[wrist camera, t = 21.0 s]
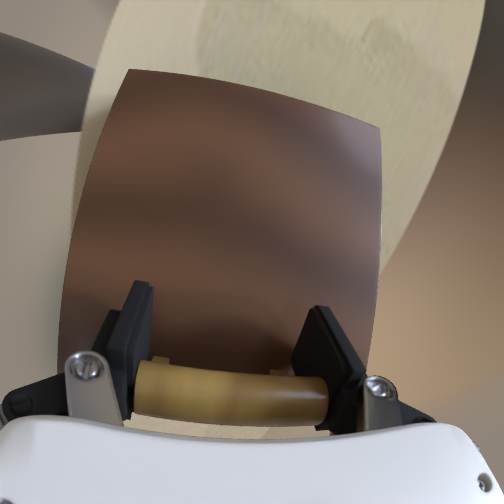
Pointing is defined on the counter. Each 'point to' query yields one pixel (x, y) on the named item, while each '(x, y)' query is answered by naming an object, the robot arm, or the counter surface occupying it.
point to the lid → (226, 243)
